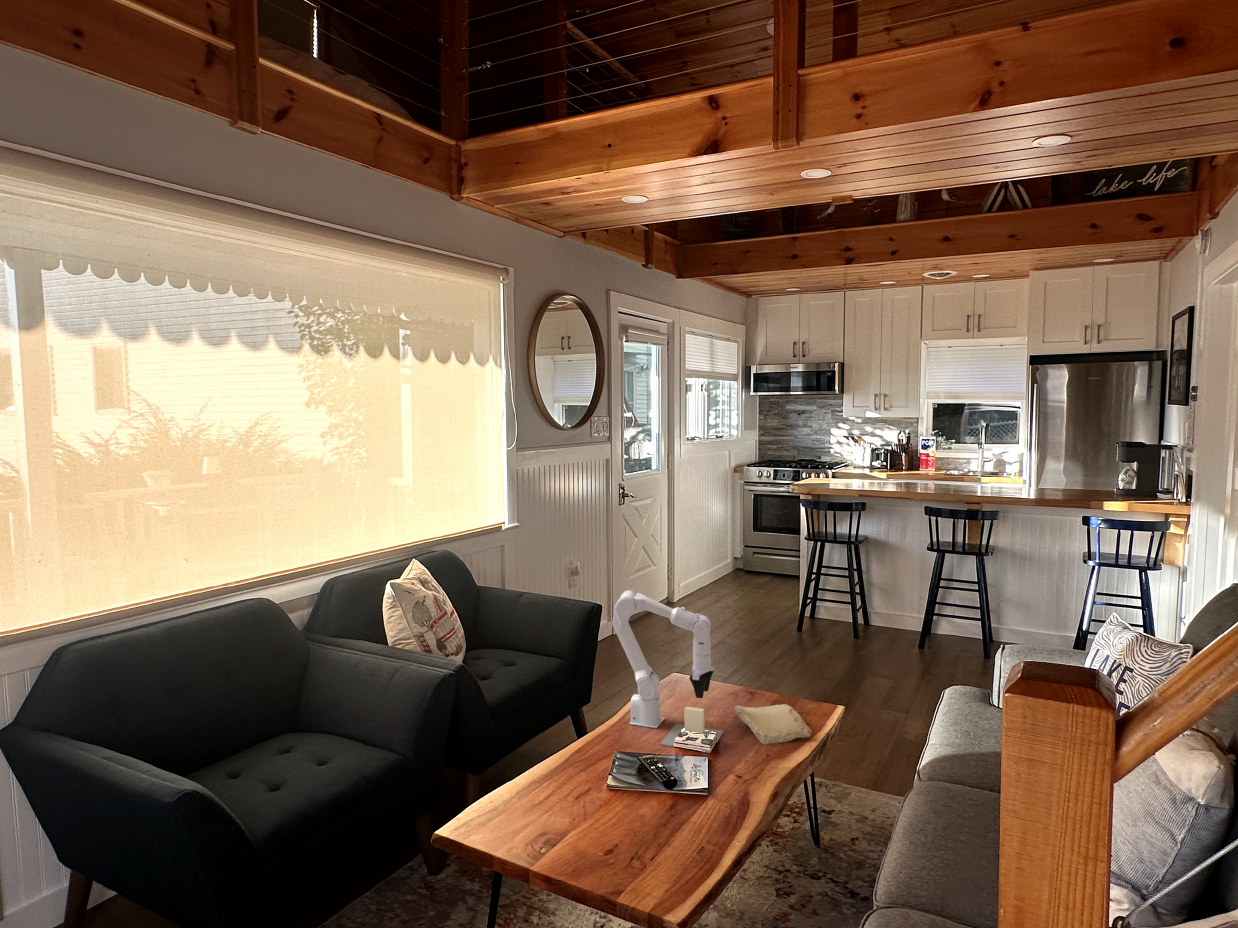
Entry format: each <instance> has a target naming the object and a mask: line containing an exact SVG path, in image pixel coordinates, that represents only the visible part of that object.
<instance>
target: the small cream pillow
mask: <svg viewBox="0 0 1238 928" xmlns="http://www.w3.org/2000/svg"><path fill="white" fill-rule="evenodd" d="M734 709H735V713H736V714H737V716H738V717H739V719H740V720H741V721H742V722H743V724H745V725H747V726H748V727H749V728H750V730H751V731H752V732H753V734H754V736H755V737H756V739H757V740H758V741H759V743H761V744H762V745H766V746H767V745H771V744H781V743H786V742H789V741H790V742H791V741H793V740H795V739H799V738H802V739H803V738H810V737H811V734H812V729H811V728H810V726H808V724H807V723H806V722H805V720H804V719H803V718H802V717H801V715H800V714H799V713H798V712H797V711H796V710H795V709H794V708H793V707H792V706H790V705H789V704H786V703H783V704H775V705H769V706H768V705H767V706H760V707H749V706H743V705H735V707H734Z"/></svg>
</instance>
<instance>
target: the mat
mask: <svg viewBox="0 0 1238 928" xmlns="http://www.w3.org/2000/svg"><path fill="white" fill-rule="evenodd" d="M683 728H685V724H682V723H681V724H680V723H675V725H673V727H672V728H671V730H669V732H668V733H667V734H666V736H665V737H664V738H663V739H662V740H661V742H660V743H659V746H663V747H668V748H674V741H675V738H676V737H677V735H678V734H679V733H680V732H681V729H683ZM705 730H709V731H713V732H716V733H717V741H716V742H717V743H718V742H719V740H720V738H721V737H723V735H724V732H725V731H724V730H721V729H720V730H719V729H715V728H707V727H705ZM714 746H715V747H716V745H714ZM714 746H713V747H714ZM715 747H714V748H715ZM714 748H712V749H713V750H714ZM712 749H710V750H702V751H705V752H707V753H706V754H711V753H712V752H713V750H712ZM705 752H704V753H705Z"/></svg>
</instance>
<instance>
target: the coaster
mask: <svg viewBox="0 0 1238 928" xmlns="http://www.w3.org/2000/svg"><path fill="white" fill-rule="evenodd" d="M683 712H684V713H683V715H684V725H685V731H691V732H699V733H703V732H704V731H705V728H706V727H705V708H699V707H692V706H685V707H684V711H683Z"/></svg>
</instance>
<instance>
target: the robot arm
mask: <svg viewBox="0 0 1238 928" xmlns="http://www.w3.org/2000/svg"><path fill="white" fill-rule="evenodd" d="M635 611H636V613H637V614H639V613H641V612H644V611H648V612H650V613H653V614H656V615H658V616H661V617H665V618H667V619H669V621H670V623H671V624H672V625H674V626H676V627H679V628H682V629H684V630H687V631H688V632H689V631H690V632H692V634H693V639H692V674H691V675H689V681H690V683H691V684H692V687H693V690H694V695H695V698H696V699H703V698H704V693H705V692H708V691H709V689H710V684H711V679H712V676H713V673H714V672H715V666H712V658H711V656H712V654H711V653H712V650H711V633H710V632H711V631H712V630H711V625H712V623H711V620H710V618H709V617H708V616H706V615H705V614H700V613H697V612H696V613H693V612H692V611H688V610H686V607H684V606H681V607H679V606H677V607H675V608H672V607H671V606H668V605H666V604H663V603H661V602H659V601H657V600H654V599H652V598H651V597H648V596H647V595H644V594H642V593H639V592H635V591H634V590H631V589H628V590H625V591H623V592H621V594H620V597H619V598H618V599H617V601H616V603H615V604H614V607H613V614H612V616H613V617H612V623H611V624H612V628H613V629H614V631H615V634H616V636H617V638H618V640H619V642H620V644H621V646H622V649H623V651H624V653H625V655H626V657H627V659H628V662H629V663H630V666H631V668H632V670H633V672H634V678H635V682H636V684H637V693H634V694H633V695H632V697H631V699H630V721H629V724H630V725H634V726H640V727H646V728H652V729H657V728H659V726H660V725H661V724H662V723H663V721H665V717H661V694H660V692H659V691H658V690H659V689H658V688H659V687H660V682H661V680H660V677H659V675H658V674H657V673H656V672H654V671H653V669H652V667H651V666H650V665H649V664H648V662H647V659H646V657H645V656H644V653H643V651H642V650H641V646H640V644H639V642H638V641H637V639H636V637H635V634H634V632H633V630H632V628H631V625H630V623H629V620H630V618H631V615H633V613H634V612H635Z"/></svg>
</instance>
